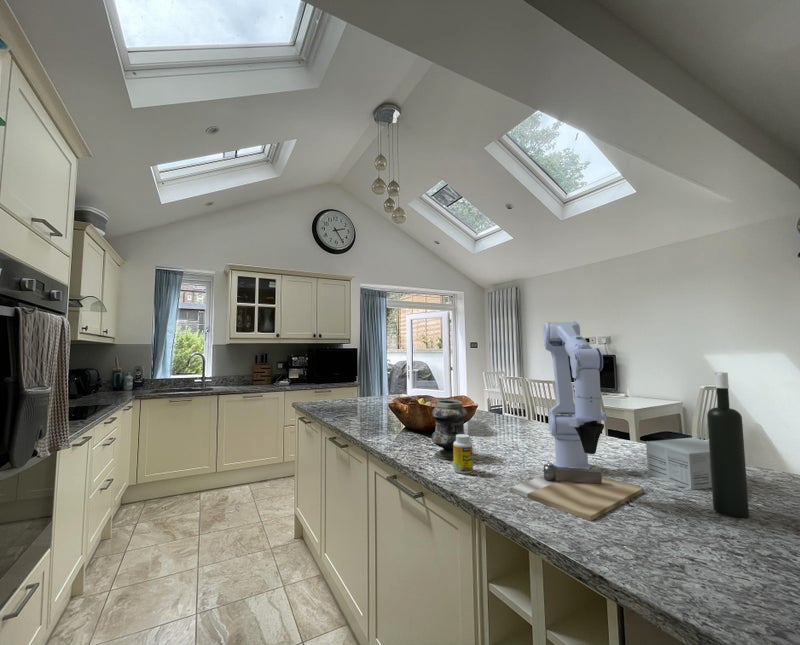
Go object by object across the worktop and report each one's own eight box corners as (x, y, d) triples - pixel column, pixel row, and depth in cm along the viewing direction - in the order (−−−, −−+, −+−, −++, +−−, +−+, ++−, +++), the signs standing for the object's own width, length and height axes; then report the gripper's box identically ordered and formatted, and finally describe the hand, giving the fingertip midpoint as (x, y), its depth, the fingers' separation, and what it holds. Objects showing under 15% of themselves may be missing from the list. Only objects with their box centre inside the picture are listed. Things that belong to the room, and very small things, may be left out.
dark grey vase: (471, 461, 118) (470, 403, 119) (433, 461, 118) (432, 403, 119) (464, 450, 130) (464, 398, 131) (430, 450, 130) (430, 398, 131)
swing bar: (545, 480, 96) (544, 465, 97) (543, 476, 99) (542, 461, 100) (602, 484, 93) (601, 468, 94) (598, 479, 96) (597, 465, 97)
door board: (566, 471, 107) (566, 458, 108) (643, 492, 91) (642, 477, 92) (510, 491, 92) (509, 476, 92) (590, 521, 76) (589, 502, 76)
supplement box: (693, 469, 109) (691, 436, 110) (743, 484, 97) (740, 448, 97) (646, 473, 106) (644, 440, 106) (692, 490, 93) (689, 452, 94)
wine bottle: (752, 521, 76) (741, 373, 78) (716, 514, 79) (706, 372, 81) (745, 510, 81) (735, 372, 83) (711, 505, 84) (702, 371, 86)
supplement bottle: (462, 475, 104) (462, 438, 105) (449, 470, 109) (449, 434, 109) (477, 472, 107) (476, 436, 108) (463, 467, 112) (463, 432, 112)
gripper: (588, 401, 84) (591, 462, 83) (618, 396, 93) (620, 451, 92) (559, 398, 90) (561, 455, 89) (589, 393, 98) (592, 445, 97)
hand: (589, 453), depth 91 cm, fingers closed
